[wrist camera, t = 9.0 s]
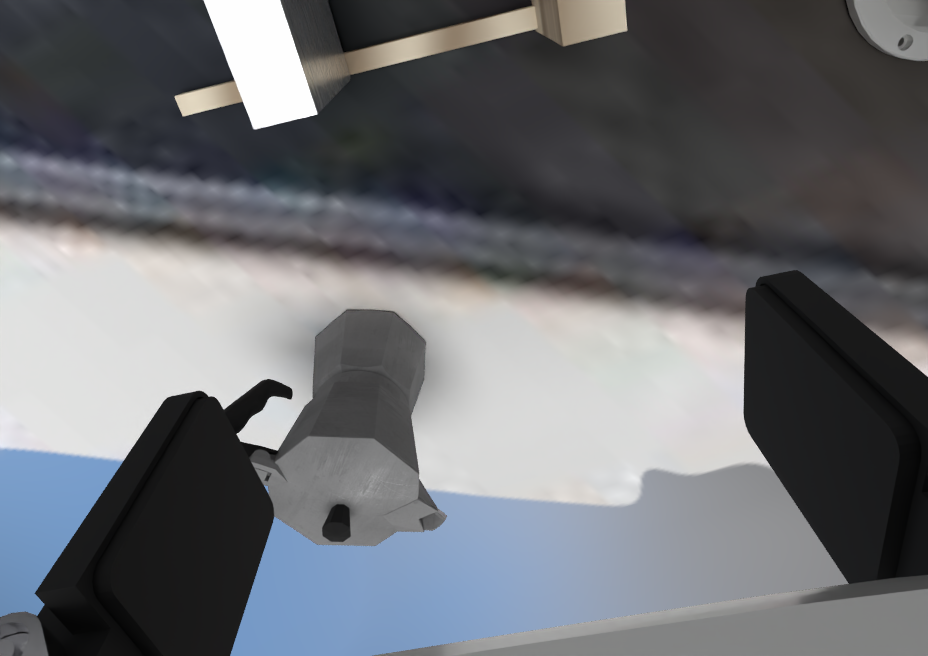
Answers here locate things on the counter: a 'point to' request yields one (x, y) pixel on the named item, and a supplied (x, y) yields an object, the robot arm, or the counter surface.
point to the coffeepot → (349, 437)
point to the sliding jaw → (281, 56)
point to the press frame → (457, 41)
